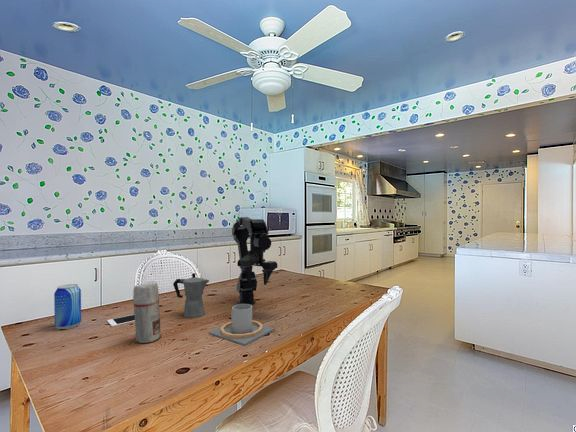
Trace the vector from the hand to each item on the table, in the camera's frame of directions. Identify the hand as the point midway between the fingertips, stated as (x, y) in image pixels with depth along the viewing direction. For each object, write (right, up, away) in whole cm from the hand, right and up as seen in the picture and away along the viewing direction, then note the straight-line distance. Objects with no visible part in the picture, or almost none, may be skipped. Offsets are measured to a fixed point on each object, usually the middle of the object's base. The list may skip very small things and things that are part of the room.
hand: (257, 283), depth 131 cm
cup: (-4, -13, -21) cm, 25 cm away
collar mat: (-3, -13, -21) cm, 25 cm away
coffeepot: (-28, -14, -1) cm, 32 cm away
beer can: (-73, -14, -13) cm, 75 cm away
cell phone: (-51, -14, -5) cm, 54 cm away
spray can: (-36, -14, -26) cm, 46 cm away
